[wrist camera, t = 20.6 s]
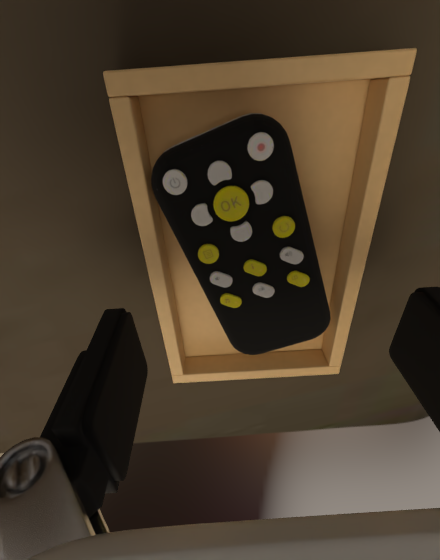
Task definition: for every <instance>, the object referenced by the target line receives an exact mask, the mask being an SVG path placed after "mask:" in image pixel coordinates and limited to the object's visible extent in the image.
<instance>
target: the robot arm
mask: <svg viewBox="0 0 440 560" xmlns="http://www.w3.org/2000/svg"><path fill="white" fill-rule="evenodd" d="M389 353H390V357H391V359H392V360H393V362H394V363H395V365H396V366H397V368H398V369H399V371H400V372H401V374H402V375H403V377H404V378H405V380H406V382H407V383H408V385H409V386H410V388H411V389H412V391H413V392H414V394H415V395H416V397H417V398H418V400H419V401H420V403H421V404H422V406H423V407H424V409H425V410H426V412H427V413H428V415H429V416H430V418H431V419H432V421H433V422H434V424H435V425H436V427H437V428H438V430H439V431H440V287H425V288H418V289H416V290H415V292H414V293H412V294H411V295H410V297H409V300H408V302H407V305H406V307H405V310H404V312H403V315H402V317H401V320H400V323H399V325H398V328H397V330H396V333H395V335H394V338H393V340H392V343H391V346H390V349H389ZM146 378H147V363H146V360H145V357H144V353H143V350H142V347H141V343H140V340H139V337H138V334H137V330H136V327H135V324H134V321H133V317H132V315H131V313H130V312H126V311H125V309H123V308H120V309H107V310H105V311H104V313H103V315H102V318H101V320H100V322H99V324H98V326H97V329H96V331H95V333H94V335H93V338H92V340H91V342H90V344H89V346H88V349H87V351H82V352H81V353H80V354H79V356H78V358H77V360H76V362H75V364H74V366H73V368H72V370H71V373H70V375H69V377H68V379H67V381H66V383H65V385H64V387H63V390H62V392H61V394H60V396H59V398H58V400H57V402H56V404H55V406H54V409H53V411H52V413H51V415H50V417H49V419H48V421H47V423H46V426H45V428H44V430H43V432H42V434H41V436H40V437H34V438H30V439H27V440H24V441H22V442H20V443H18V444H16V445H14V446H13V447H12V448H10V449H9V450H8V451H6V452H5V453H4V454H3V455H2V456H1V457H0V560H440V508H433V509H432V508H431V509H415V510H399V511H384V512H369V513H352V514H337V515H322V516H306V517H291V518H278V519H262V520H247V521H233V522H220V523H204V524H190V525H179V526H170V527H169V526H168V527H157V528H146V529H135V530H126V531H119V532H112V533H110V531H109V529H108V527H107V525H106V523H105V520H104V518H103V516H102V514H101V512H100V509H99V508H100V507H101V506H102V504H103V500H104V496H105V493H116V492H117V490H118V486H119V481H123V480H124V479H125V477H126V474H127V470H128V465H129V460H130V455H131V451H132V446H133V441H134V436H135V431H136V427H137V422H138V417H139V412H140V407H141V402H142V398H143V393H144V388H145V383H146Z"/></svg>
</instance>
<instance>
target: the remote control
mask: <svg viewBox="0 0 440 560" xmlns="http://www.w3.org/2000/svg"><path fill="white" fill-rule="evenodd" d="M151 184H152V190H153V193H154V196H155V198H156V200H157V202H158V204H159V206H160V208H161V210H162V212H163V214H164V215H165V217H166V219H167V221H168V223H169V225H170V227H171V229H172V231H173V233H174V235H175V237H176V239H177V241H178V243H179V245H180V246H181V248H182V250H183V252H184V254H185V256H186V258H187V260H188V262H189V264H190V266H191V268H192V270H193V272H194V274H195V276H196V277H197V279H198V281H199V283H200V285H201V287H202V289H203V291H204V293H205V295H206V297H207V299H208V301H209V303H210V305H211V307H212V308H213V310H214V312H215V314H216V316H217V318H218V320H219V322H220V324H221V326H222V328H223V330H224V332H225V334H226V336H227V338H228V339H229V341H230V343H231V344H232V346H233V347H234V348H235V349H236V350H237V351H239V352H241V353H243V354H248V355H258V354H262V353H266V352H269V351H273V350H277V349H280V348H284V347H287V346H291V345H294V344H298V343H301V342H305V341H308V340H312V339H314V338H316V337H318V336H320V335H321V334H322V333H323V332H324V331H325V330H326V329H327V327H328V326H329V323H330V319H331V317H330V310H329V305H328V301H327V297H326V292H325V288H324V284H323V280H322V275H321V271H320V267H319V263H318V258H317V254H316V250H315V246H314V241H313V237H312V233H311V228H310V224H309V220H308V216H307V211H306V207H305V203H304V199H303V194H302V190H301V186H300V182H299V177H298V173H297V169H296V164H295V160H294V156H293V152H292V147H291V143H290V140H289V137H288V135H287V132H286V131H285V129H284V128H283V127H282V125H281V124H280V123H279V122H278V121H276V120H275V119H274V118H272V117H270V116H267V115H264V114H261V113H249V114H245V115H242V116H239V117H237V118H235V119H232V120H230V121H228V122H226V123H224V124H221V125H219V126H216V127H214V128H212V129H209V130H207V131H205V132H203V133H200V134H198V135H196V136H194V137H191V138H189V139H187V140H185V141H182V142H180V143H178V144H176V145H174V146H172V147H170V148H169V149H167V150H165V151H164V152H163V153H162V155H161V156H160V157H159V158H158V159H157V161H156V163H155V165H154V167H153V170H152V176H151Z"/></svg>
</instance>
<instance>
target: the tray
mask: <svg viewBox="0 0 440 560" xmlns="http://www.w3.org/2000/svg"><path fill="white" fill-rule="evenodd" d="M416 52H417V49H416V48H407V49H394V50H380V51H367V52H353V53H340V54H326V55H313V56H299V57H286V58H272V59H259V60H245V61H232V62H218V63H205V64H191V65H178V66H164V67H151V68H137V69H124V70H110V71H104V72H103V76H104V81H105V85H106V89H107V94H108V96H109V97H111V98H109V103H110V107H111V112H112V116H113V120H114V125H115V129H116V133H117V138H118V142H119V147H120V151H121V155H122V160H123V164H124V168H125V173H126V177H127V182H128V186H129V190H130V195H131V199H132V204H133V208H134V212H135V217H136V221H137V225H138V230H139V234H140V239H141V243H142V247H143V252H144V256H145V260H146V265H147V269H148V274H149V278H150V282H151V287H152V291H153V296H154V300H155V304H156V309H157V313H158V317H159V322H160V326H161V331H162V335H163V339H164V344H165V348H166V352H167V357H168V361H169V366H170V370H171V374H172V379H173V383H185V382H203V381H220V380H238V379H255V378H272V377H290V376H307V375H325V374H338V373H339V371H340V365H341V363H342V358H343V354H344V350H345V346H346V342H347V338H348V334H349V329H350V325H351V321H352V317H353V313H354V309H355V305H356V301H357V296H358V292H359V288H360V284H361V280H362V276H363V272H364V268H365V263H366V259H367V255H368V251H369V247H370V243H371V239H372V235H373V230H374V226H375V222H376V218H377V214H378V210H379V206H380V201H381V197H382V193H383V189H384V185H385V181H386V177H387V173H388V168H389V164H390V160H391V156H392V152H393V148H394V144H395V140H396V135H397V131H398V127H399V123H400V119H401V115H402V111H403V107H404V102H405V98H406V94H407V90H408V86H409V82H410V76H409V75H410V74H411V73H412V69H413V65H414V61H415V56H416ZM249 113H261V114H264V115H267V116H270V117H272V118H274V119H275V120H276V121H278V122H279V123H280V124H281V125H282V127H283V128H284V129H285V131H286V132H287V135H288V137H289V140H290V143H291V147H292V152H293V156H294V160H295V164H296V169H297V173H298V177H299V182H300V186H301V190H302V194H303V199H304V203H305V207H306V211H307V216H308V220H309V224H310V228H311V233H312V237H313V241H314V246H315V250H316V254H317V258H318V263H319V267H320V271H321V275H322V280H323V284H324V288H325V292H326V297H327V301H328V305H329V310H330V317H331V319H330V323H329V326H328V327H327V329H326V330H325V331H324V332H323V333H322V334H321V335H320V336H318V337H316V338H314V339H312V340H308V341H305V342H301V343H298V344H294V345H291V346H287V347H284V348H280V349H277V350H273V351H269V352H266V353H262V354H258V355H248V354H243V353H241V352H239V351H237V350H236V349H235V348H234V347H233V346H232V344H231V343H230V341H229V339H228V338H227V336H226V334H225V332H224V330H223V328H222V326H221V324H220V322H219V320H218V318H217V316H216V314H215V312H214V310H213V308H212V307H211V305H210V303H209V301H208V299H207V297H206V295H205V293H204V291H203V289H202V287H201V285H200V283H199V281H198V279H197V277H196V276H195V274H194V272H193V270H192V268H191V266H190V264H189V262H188V260H187V258H186V256H185V254H184V252H183V250H182V248H181V246H180V245H179V243H178V241H177V239H176V237H175V235H174V233H173V231H172V229H171V227H170V225H169V223H168V221H167V219H166V217H165V215H164V214H163V212H162V210H161V208H160V206H159V204H158V202H157V200H156V198H155V196H154V193H153V190H152V184H151V176H152V170H153V167H154V165H155V163H156V161H157V159H158V158H159V157H160V156H161V155H162V153H163V152H164V151H165V150H167V149H169V148H170V147H172V146H174V145H176V144H178V143H180V142H182V141H185V140H187V139H189V138H191V137H194V136H196V135H198V134H200V133H203V132H205V131H207V130H209V129H212V128H214V127H216V126H219V125H221V124H224V123H226V122H228V121H230V120H232V119H235V118H237V117H239V116H242V115H245V114H249Z"/></svg>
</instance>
